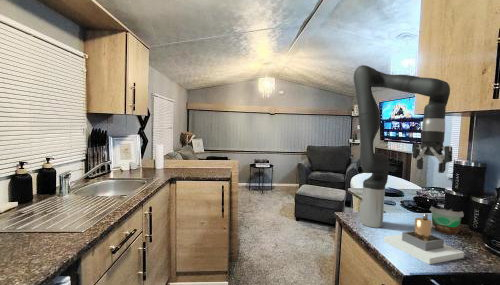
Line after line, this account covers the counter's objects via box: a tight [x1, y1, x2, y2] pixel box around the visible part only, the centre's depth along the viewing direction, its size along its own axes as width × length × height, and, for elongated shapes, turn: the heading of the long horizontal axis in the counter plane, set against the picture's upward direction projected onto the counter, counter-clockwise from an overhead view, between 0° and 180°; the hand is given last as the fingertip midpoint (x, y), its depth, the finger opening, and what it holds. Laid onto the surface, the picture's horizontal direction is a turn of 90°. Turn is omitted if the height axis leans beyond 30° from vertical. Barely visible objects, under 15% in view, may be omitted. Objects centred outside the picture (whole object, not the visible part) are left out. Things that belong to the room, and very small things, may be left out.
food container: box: [429, 205, 465, 235], centre depth 116 cm, size 12×6×10 cm, turn 56°
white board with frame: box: [383, 230, 465, 265], centre depth 97 cm, size 18×17×5 cm
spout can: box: [414, 213, 432, 242], centre depth 97 cm, size 5×5×11 cm
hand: (430, 170), depth 105 cm, fingers open, 8 cm apart
